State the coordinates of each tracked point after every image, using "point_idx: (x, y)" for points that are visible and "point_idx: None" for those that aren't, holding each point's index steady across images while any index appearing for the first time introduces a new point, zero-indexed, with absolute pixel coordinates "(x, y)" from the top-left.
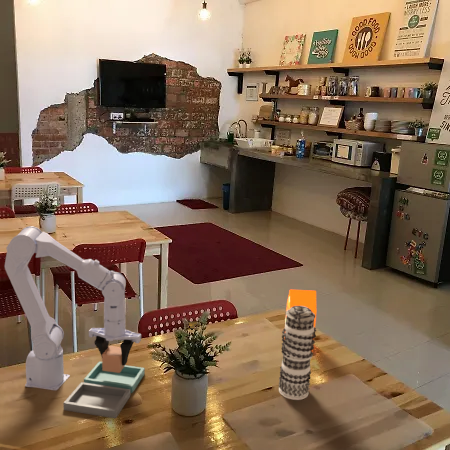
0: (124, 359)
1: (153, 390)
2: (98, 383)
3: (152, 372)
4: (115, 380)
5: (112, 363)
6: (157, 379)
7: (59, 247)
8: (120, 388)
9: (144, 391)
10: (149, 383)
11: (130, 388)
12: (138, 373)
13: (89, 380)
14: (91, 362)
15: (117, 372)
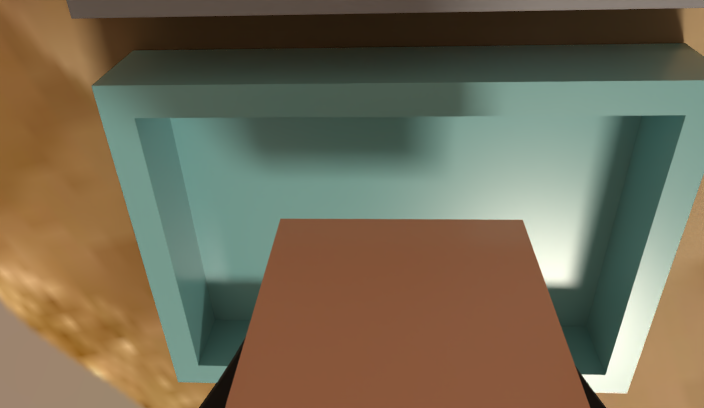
0: (208, 399)
1: (4, 164)
2: (523, 71)
3: (169, 368)
4: (389, 210)
5: (376, 305)
6: (79, 304)
7: None
8: (195, 7)
9: (64, 131)
10: (102, 246)
11: (125, 74)
12: (179, 306)
13: (652, 78)
14: (691, 393)
15: (310, 220)
